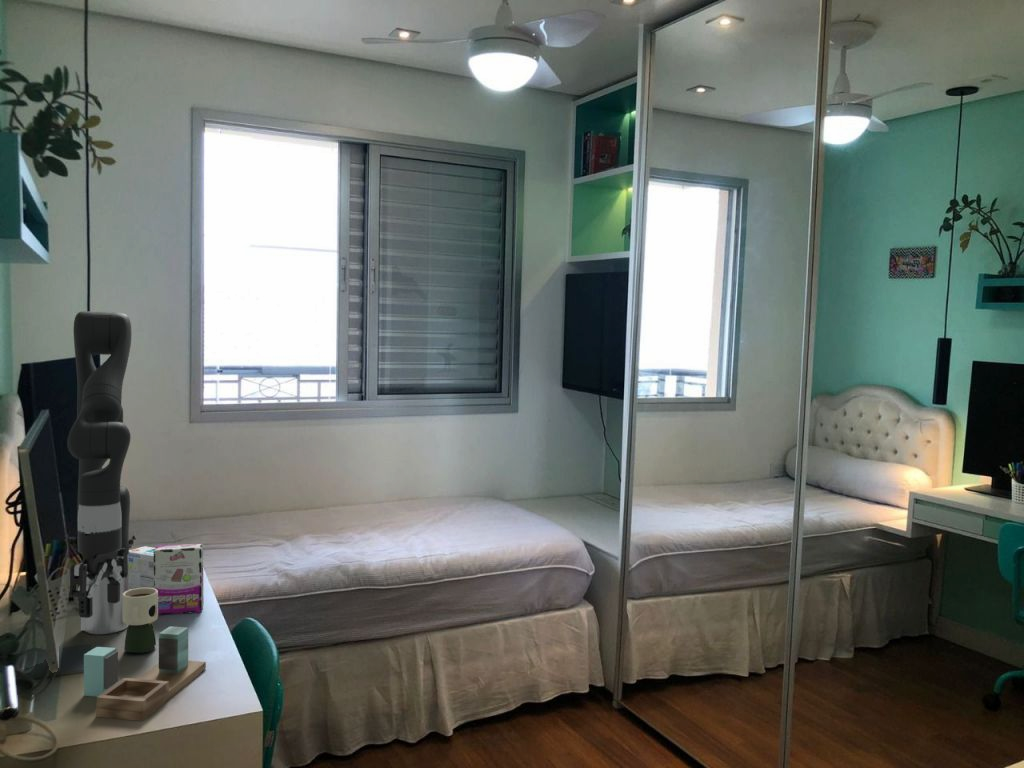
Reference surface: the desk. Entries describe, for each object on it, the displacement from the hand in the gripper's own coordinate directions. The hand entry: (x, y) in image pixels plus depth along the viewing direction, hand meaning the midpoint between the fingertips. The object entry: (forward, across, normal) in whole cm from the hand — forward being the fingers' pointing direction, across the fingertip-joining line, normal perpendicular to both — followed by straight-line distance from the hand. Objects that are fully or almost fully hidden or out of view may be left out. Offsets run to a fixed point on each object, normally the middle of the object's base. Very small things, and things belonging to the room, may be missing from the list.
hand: (100, 609), depth 156 cm
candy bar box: (+16, -45, -9) cm, 49 cm away
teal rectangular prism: (+16, 0, 0) cm, 16 cm away
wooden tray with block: (+16, -2, +10) cm, 19 cm away
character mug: (+16, -20, -4) cm, 26 cm away
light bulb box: (+16, -59, -25) cm, 66 cm away
